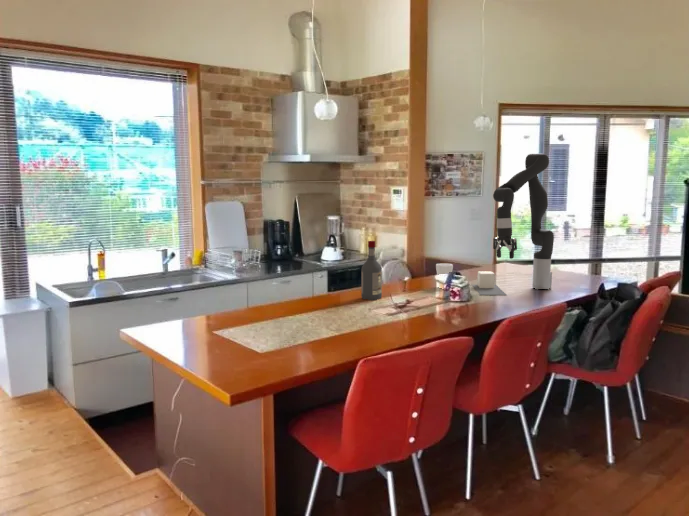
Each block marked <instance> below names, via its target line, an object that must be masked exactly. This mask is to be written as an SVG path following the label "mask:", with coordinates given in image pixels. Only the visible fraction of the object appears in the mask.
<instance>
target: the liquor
mask: <svg viewBox="0 0 689 516" xmlns="http://www.w3.org/2000/svg"><path fill="white" fill-rule="evenodd" d="M367 251H368V252H367V256H368V257H367V260H366V261H365V262H364V263H363V265H362V266H361V270H360V271H361V273H360V274H361V278H360V279H361V289H360V290H361V291H360V292H361V295H360V296H361V299H363V300H365V299H368V300H367V301H377V299H378V300H380V299H382V294H383V293H382V290H383V289H382V286H383V285H382V279H383V278H382V277H383V276H382V275H383V269H382V266H381V264H380V263H379V262H378V261H377V259H376V241H375V240H368V241H367Z"/></svg>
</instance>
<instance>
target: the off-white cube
mask: <svg viewBox="0 0 689 516" xmlns="http://www.w3.org/2000/svg"><path fill="white" fill-rule="evenodd" d="M495 277H496V276H495V273H494V272H493V271H490V270H489V271H485V270H484V271H482V270H481V271H480V270H479V271H477V277H476V278H477V283H476V285H477V286H478V287H479V288H494V285H495Z"/></svg>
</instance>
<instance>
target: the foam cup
mask: <svg viewBox="0 0 689 516" xmlns="http://www.w3.org/2000/svg"><path fill="white" fill-rule="evenodd" d="M435 269H436V276H437V275H439V274H445V273H449V272H452V273H453V269H454V264H452V263H436V264H435Z"/></svg>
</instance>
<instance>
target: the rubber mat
mask: <svg viewBox="0 0 689 516" xmlns="http://www.w3.org/2000/svg"><path fill="white" fill-rule="evenodd" d="M471 286H472V288H473V289H474V290H475V291H476V292H477V293H478V295H479V294H480V295H507V294H506V292H504V291H503V290H502V289H501V288H500V287H499V286H498V285H497V284H494V288H479V287H478V286H477V284H471ZM480 295H479V296H480Z"/></svg>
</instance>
